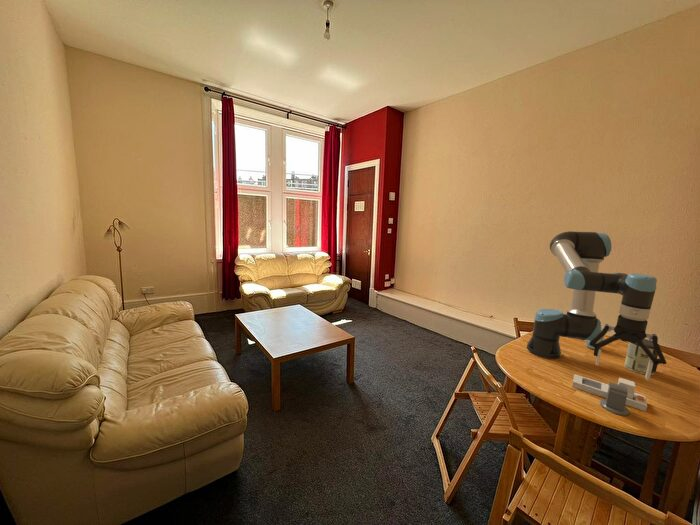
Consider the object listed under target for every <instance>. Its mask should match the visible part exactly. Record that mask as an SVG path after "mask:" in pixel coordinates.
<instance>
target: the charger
mask: <svg viewBox="0 0 700 525" xmlns="http://www.w3.org/2000/svg"><path fill="white" fill-rule="evenodd" d="M608 385H609V387H608V392H607V397H606V398H605V399H606V407H609V408H612V409H615V410H618V411H621V412H624V408H625V407H626V405H625V403H626V398H627V394H628V391H627V387H625V386H622V385H619V384H618V383H615V382H611V381H609V383H608Z"/></svg>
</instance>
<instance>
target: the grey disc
mask: <svg viewBox="0 0 700 525" xmlns="http://www.w3.org/2000/svg"><path fill="white" fill-rule="evenodd" d="M599 404H600V406H601V407H602V408H603V409H604V408H605V410H607V411H608V412H610V413H612V414H615V415H618V416H626V417H627V416H628V415H629V414H630V410H629V409H628V408H627V407H626V406H625V408H624V412H621V411H618V410H615V409H612V408H609V407H606V398H604V399H601V400H600V401H599Z"/></svg>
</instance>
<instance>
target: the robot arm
mask: <svg viewBox="0 0 700 525" xmlns="http://www.w3.org/2000/svg"><path fill="white" fill-rule="evenodd" d="M611 241H612V240H611V238H610V236H609V235H607V234H606V233H604V232H597V231H571V230H570V231H564V232H561V233H559V234H557V235H555V236H554V237H553V238H552V239H551V240H550V243H549V251H550V252H551V254H552V255H553V256H554V257H556V258H557V259H558V261H559V263H560V264H561V267H562V268H563V269H564V271H565V273H564V275H563V276H564V278H563V282H564V286H565V287H566V288H567V289H571V290H573V292H572V300H571V305H570V306H571V307H570V308H569V309H567V310H566V313H564V312H563V311H562V310H559V309H555V308H541V309H538V310H537V311H536V312H535V316H534V319H533V320H534V322H533V328H532V336H531V337H530V338H529V340H528V342H527V344H526V350H527V349H528V350H529V351H530V352H531V354H532V353H533V354H532V355H534V354H535V356H536V355H537V357H540V358H544V359H549V360H558V359H560V358H561V357H562V356H561V355H562V350H561V345H560V338H561V337H563V338H568V339H574V340H581V341H586V340H588V341H590V343H589V344H590V345H591V346H593V347H594V348H595V349H594V350H593V356H595V357H596V358H595V366H597V367H598V366H599V363H600V359H601V355H602V349H601V347H602V348H603V347H605V346H607V345H609V344H612V343H614V342H615V341H618V340H619V341H621V342H627V343H629V342H630V343H638V344H639V346H640V347H641V348H642V349H643V350H644V351H645V353H646V354H647V355H648V356H649V358H650V359H651V360H652V361H651V360H649V363H648V367H647V371H646V375H645V374H644V375H645V376H644V377H645V380H646V381H650V378H651V376H652V375H651V371H653V372H654V373H656V372H657V369H658V365H659V364H661V365H666V364H667V361H666V357H665V356H664V354H663V352H662V349H661V346H660V347H659V345H660V344H659V343H658V340H659V338H658V336H657V334H656V333H652V334H649V333H646V330H647V326H648V323H649V322H648V320H649V318H650V314H651V309H652V305H653V301H654V297H655V295H656V294H655V293H656V291H657V283H658V280H657V278H656V277H655V276H653V275H648V274H644V273H643V274H642V273H629V274H627V273H623V272H614V273H609V272H599V269H600V268H599V267H600V263H602V262H603V261H604V260H605V258H606V257H608V256H609V255H611V251H612V242H611ZM596 292H598V293H607V294H608V293H609V294H618V295H621V296H622V297H621V302H620V306H619V311H618V313H619V315H618V316H617V322H616V325H615V326H613V325H609V324H608V323H605V324H604V325H603V327H602V325H601V324H602V323H601V320H600V319H599V318H598V317H597V314H596V313H595V312H594V307H595V306H594V305H595V298H596ZM601 328H603V330H601ZM611 331H614V334H612V335H611V336H609V337H607V338H605V339H603V341H601V342H599V343H597V344H596V342H597V341H598V340H600V339H601V338H602V337H603V336H604V337H605V336H606V334H608V332H611ZM646 338H647V339H648V340H650V341H652V343H653V345H654V347H655V349H656V352H657V354H658V357H657V358H656V357H655V356H654V355H653V354H652V352H651V351H650V350H649V349H648V347H647V346H646V345H645V344H644V342H643V341H642V340H643V339H646ZM658 344H659V345H658ZM528 350H527V351H528ZM529 351H528V352H529ZM530 352H529V353H530Z"/></svg>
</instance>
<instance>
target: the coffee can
mask: <svg viewBox="0 0 700 525" xmlns="http://www.w3.org/2000/svg"><path fill="white" fill-rule="evenodd" d="M642 341H643V342H644V344H645V345H646V346H647V347H648V349H649V350H650V351H651V352H652V354H653V355H654V356H655V357H656V358H657V359H658V358H659V356H658V354H657V352H656V349H655V347H654V345H653V343H652V341H650V340H649V339H646V338H645V339H643V340H642ZM658 345H659V347H660V348H661V345H660V344H659V343H658ZM627 346H628V347H627V351H626V355H625V361H624V363H623V364H624V365H623V366H624V367H625V368H626V369H628V370H630V371H633V372H635V373H637V374H641V375H646V371H647V367H648V363H649V360H651V359H650V358H649V356H648V355H647V354H646V353H645V351H644V350H643V349H642V348H641V347H640V346H639V344H638V343H630V342H628V345H627ZM651 361H652V360H651ZM652 375H655V372H653V371H651V375H650V376H652Z"/></svg>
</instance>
